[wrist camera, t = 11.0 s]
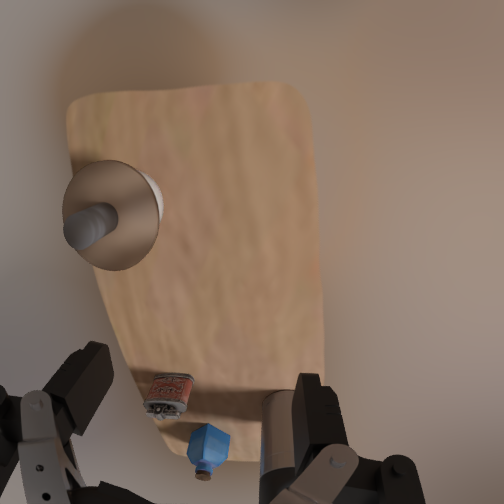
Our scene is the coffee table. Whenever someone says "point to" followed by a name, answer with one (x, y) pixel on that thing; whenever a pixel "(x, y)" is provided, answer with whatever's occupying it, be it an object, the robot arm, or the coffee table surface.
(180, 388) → the lighter
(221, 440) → the perfume bottle
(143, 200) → the walnut lid
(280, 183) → the coffee table surface
